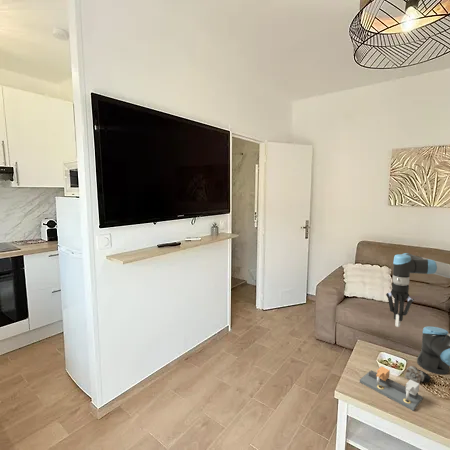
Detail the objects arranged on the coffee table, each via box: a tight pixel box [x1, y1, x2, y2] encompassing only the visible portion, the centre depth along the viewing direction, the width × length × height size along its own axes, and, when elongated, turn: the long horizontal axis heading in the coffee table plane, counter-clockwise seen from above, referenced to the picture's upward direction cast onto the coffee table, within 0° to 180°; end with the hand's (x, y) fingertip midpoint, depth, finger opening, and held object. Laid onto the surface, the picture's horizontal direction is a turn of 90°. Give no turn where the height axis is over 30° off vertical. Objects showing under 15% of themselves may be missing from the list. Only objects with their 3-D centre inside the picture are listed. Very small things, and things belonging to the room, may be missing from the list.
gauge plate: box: [359, 370, 424, 412], centre depth 139 cm, size 12×25×8 cm, turn 38°
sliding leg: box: [376, 366, 391, 385], centre depth 143 cm, size 9×4×5 cm, turn 128°
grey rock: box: [404, 365, 431, 384], centre depth 148 cm, size 7×11×10 cm
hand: (397, 325), depth 147 cm, fingers closed
